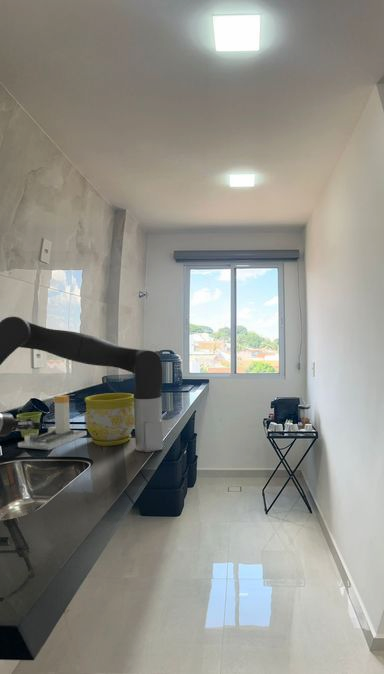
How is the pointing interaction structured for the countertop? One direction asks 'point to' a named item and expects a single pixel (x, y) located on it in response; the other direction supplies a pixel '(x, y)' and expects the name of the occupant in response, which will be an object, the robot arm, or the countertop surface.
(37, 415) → the plant pot
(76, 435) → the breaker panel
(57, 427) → the white bottle
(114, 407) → the flowerpot
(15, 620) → the countertop surface
